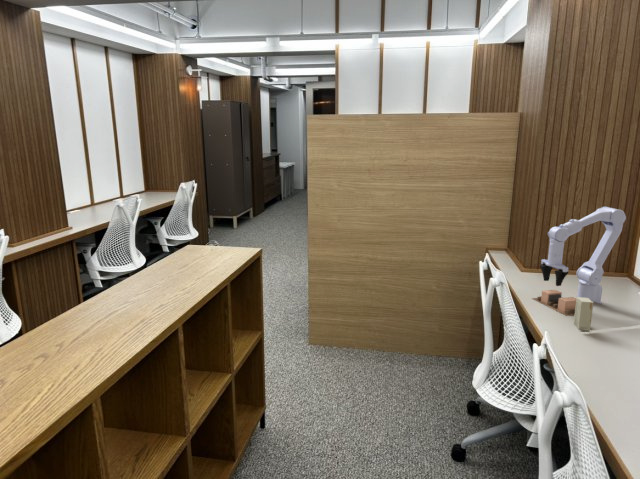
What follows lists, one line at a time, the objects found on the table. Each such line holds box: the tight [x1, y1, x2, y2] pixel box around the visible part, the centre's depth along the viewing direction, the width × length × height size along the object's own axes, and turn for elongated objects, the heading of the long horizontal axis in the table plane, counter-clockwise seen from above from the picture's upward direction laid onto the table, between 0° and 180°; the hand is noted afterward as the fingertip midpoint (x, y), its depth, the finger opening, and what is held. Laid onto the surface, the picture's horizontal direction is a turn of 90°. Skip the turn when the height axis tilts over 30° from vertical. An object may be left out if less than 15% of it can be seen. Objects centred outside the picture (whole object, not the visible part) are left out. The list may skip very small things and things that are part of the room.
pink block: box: [558, 296, 577, 312], centre depth 202 cm, size 7×5×5 cm, turn 104°
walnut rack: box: [531, 295, 575, 317], centre depth 207 cm, size 13×22×2 cm, turn 14°
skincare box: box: [573, 296, 594, 333], centre depth 183 cm, size 6×4×12 cm
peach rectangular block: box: [541, 289, 563, 304], centre depth 211 cm, size 5×7×5 cm, turn 105°
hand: (552, 283), depth 212 cm, fingers open, 7 cm apart
